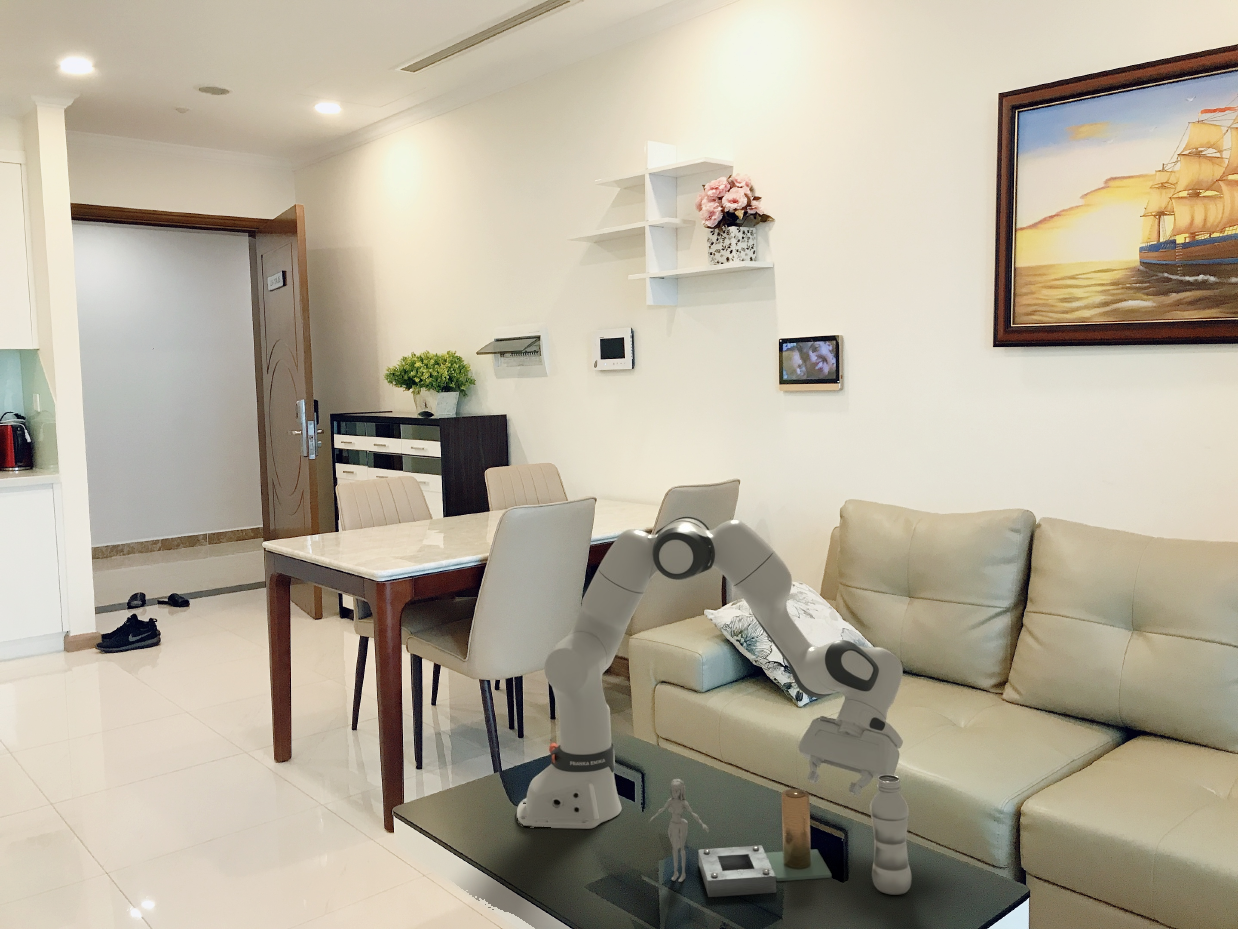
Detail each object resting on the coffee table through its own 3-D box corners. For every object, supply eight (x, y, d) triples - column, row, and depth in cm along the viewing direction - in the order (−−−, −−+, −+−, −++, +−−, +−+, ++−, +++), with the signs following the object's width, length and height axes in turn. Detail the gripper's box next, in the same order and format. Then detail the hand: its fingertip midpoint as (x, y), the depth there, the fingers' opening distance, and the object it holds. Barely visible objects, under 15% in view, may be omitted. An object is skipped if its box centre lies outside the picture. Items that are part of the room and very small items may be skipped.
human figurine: (646, 875, 178) (642, 779, 177) (654, 866, 181) (651, 772, 180) (707, 887, 172) (703, 789, 171) (714, 878, 176) (711, 781, 175)
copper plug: (786, 870, 176) (784, 798, 175) (780, 857, 181) (778, 788, 180) (813, 868, 176) (812, 797, 176) (807, 856, 181) (805, 786, 181)
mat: (776, 881, 173) (776, 878, 173) (765, 855, 183) (765, 852, 183) (831, 877, 174) (831, 874, 174) (817, 852, 184) (817, 849, 184)
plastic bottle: (913, 901, 165) (911, 786, 164) (872, 898, 166) (869, 784, 165) (910, 882, 171) (907, 772, 170) (870, 880, 172) (867, 770, 171)
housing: (708, 897, 169) (707, 878, 169) (698, 865, 181) (698, 847, 181) (776, 892, 169) (775, 873, 169) (762, 861, 181) (761, 843, 181)
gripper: (808, 706, 198) (781, 766, 192) (897, 727, 183) (871, 793, 177) (822, 722, 201) (795, 782, 195) (910, 743, 186) (885, 809, 180)
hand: (832, 787), depth 186 cm, fingers open, 8 cm apart
